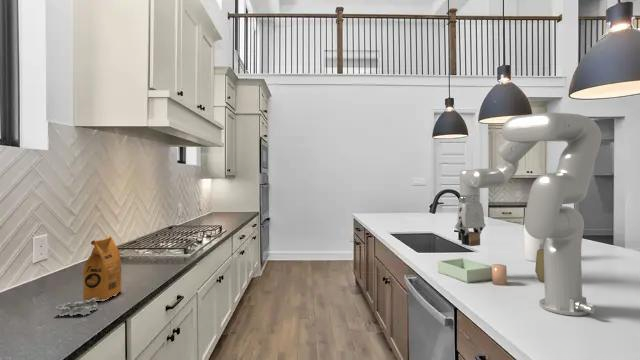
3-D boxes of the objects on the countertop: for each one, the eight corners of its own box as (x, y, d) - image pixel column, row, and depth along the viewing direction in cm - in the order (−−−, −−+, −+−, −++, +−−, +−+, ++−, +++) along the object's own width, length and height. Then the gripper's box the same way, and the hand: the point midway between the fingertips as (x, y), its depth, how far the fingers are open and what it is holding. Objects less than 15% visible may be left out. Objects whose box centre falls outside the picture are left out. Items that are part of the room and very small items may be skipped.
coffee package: (77, 303, 121) (76, 241, 121) (100, 292, 134) (99, 235, 134) (105, 303, 121) (104, 240, 121) (126, 291, 134) (124, 235, 134)
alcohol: (523, 257, 174) (521, 198, 174) (543, 259, 171) (542, 198, 171) (526, 261, 166) (524, 199, 166) (547, 263, 162) (546, 199, 163)
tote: (494, 279, 138) (494, 266, 138) (467, 283, 134) (466, 270, 134) (463, 269, 155) (462, 258, 155) (438, 272, 151) (437, 261, 151)
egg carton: (101, 309, 116) (101, 296, 116) (86, 317, 108) (85, 304, 109) (70, 309, 116) (69, 297, 116) (52, 318, 109) (52, 305, 109)
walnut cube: (480, 245, 139) (479, 233, 139) (470, 246, 138) (470, 233, 138) (471, 243, 144) (470, 231, 144) (461, 244, 142) (461, 232, 142)
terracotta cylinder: (510, 284, 131) (509, 266, 131) (499, 286, 129) (499, 267, 129) (499, 281, 136) (498, 263, 136) (489, 282, 134) (488, 264, 134)
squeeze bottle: (552, 278, 138) (551, 233, 138) (564, 284, 130) (563, 237, 130) (531, 278, 138) (530, 233, 138) (542, 284, 130) (541, 237, 130)
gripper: (459, 201, 135) (460, 247, 135) (493, 199, 140) (494, 243, 140) (446, 200, 142) (447, 244, 142) (479, 198, 147) (480, 241, 147)
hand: (470, 243), depth 141 cm, fingers closed on walnut cube, 4 cm apart
